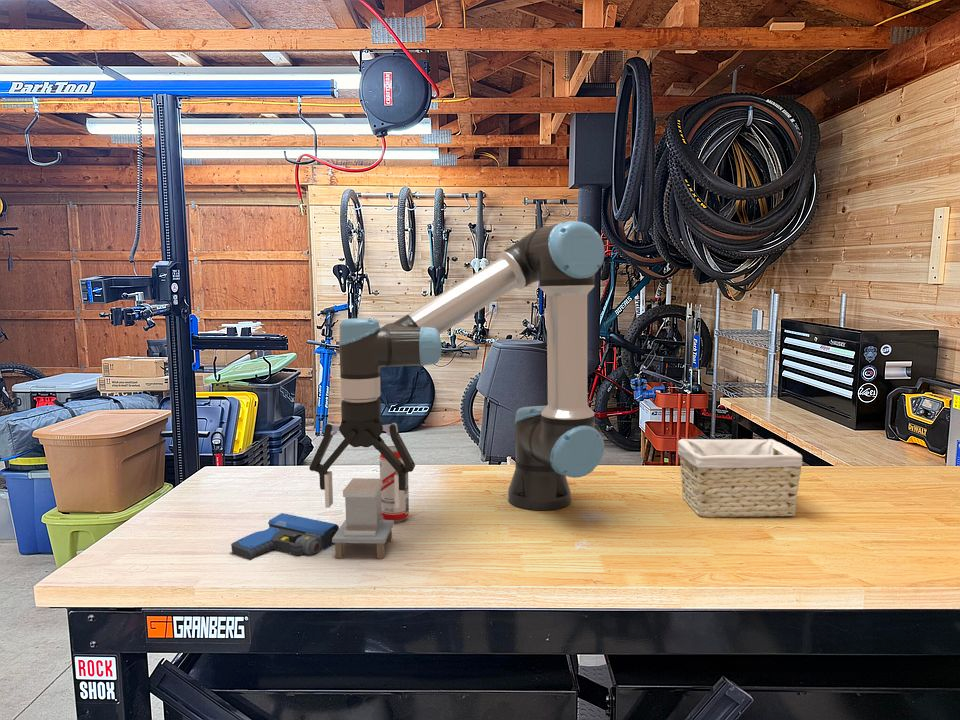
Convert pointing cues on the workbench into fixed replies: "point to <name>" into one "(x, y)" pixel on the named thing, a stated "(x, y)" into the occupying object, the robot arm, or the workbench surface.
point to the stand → (364, 538)
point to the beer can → (392, 491)
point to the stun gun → (287, 537)
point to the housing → (363, 507)
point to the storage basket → (739, 477)
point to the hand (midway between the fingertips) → (363, 505)
